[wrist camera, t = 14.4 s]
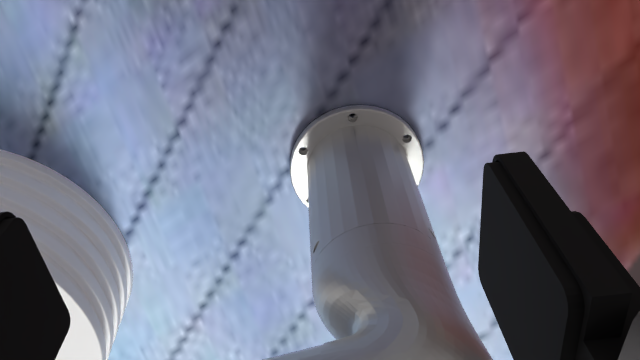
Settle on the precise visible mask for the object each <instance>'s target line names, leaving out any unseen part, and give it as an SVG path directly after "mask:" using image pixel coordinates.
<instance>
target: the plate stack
mask: <svg viewBox="0 0 640 360" xmlns="http://www.w3.org/2000/svg"><path fill="white" fill-rule="evenodd" d="M7 211H8V212H11V213H13V214H14V215H15V216H16V217H19V218H21V219H23V220H24V222H25V223H26V225H27V227H28V229H29V231H30V233H31V235H32V237H33V239H34V241H35V243H36V245H37V247H38V249H39V251H40V254H41V256H42V258H43V260H44V262H45V264H46V266H47V268H48V270H49V272H50V274H51V276H52V278H53V280H54V282H55V284H56V286H57V288H58V290H59V292H60V294H61V296H62V298H63V300H64V302H65V305H66V307H67V309H68V311H69V313H70V328H69V331H68V333H67V335H66V337H65V339H64V342H63V344H62V346H61V348H60V350H59V352H58V354H57V356H56V359H55V360H108V357H109V354H110V351H111V348H112V345H113V343H114V340H115V337H116V334H117V331H118V328H119V325H120V323H121V320H122V317H123V314H124V311H125V308H126V306H127V303H128V300H129V297H130V294H131V290H132V285H133V266H132V260H131V256H130V252H129V249H128V246H127V244H126V242H125V239H124V237H123V235H122V234H121V232H120V230H119V228H118V227H117V225H116V224H115V222H114V221H113V220H112V218H111V217H110V216H109V214H108V213H107V212H106V211H105V210H104V209H103V207H102V206H101V205H100V204H99V203H98V202H97V201H96V200H95V199H94V198H92V197H91V196H90V195H89V194H88V193H87V192H86V191H84V190H83V189H82V188H80V187H79V186H78V185H76V184H75V183H74V182H72V181H71V180H69V179H68V178H66V177H65V176H63V175H61V174H60V173H58V172H56V171H54V170H53V169H51V168H49V167H47V166H45V165H43V164H41V163H38V162H36V161H34V160H31V159H29V158H26V157H24V156H21V155H18V154H15V153H12V152H9V151H5V150H1V149H0V212H7Z"/></svg>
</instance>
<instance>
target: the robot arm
mask: <svg viewBox="0 0 640 360" xmlns="http://www.w3.org/2000/svg"><path fill="white" fill-rule="evenodd" d="M352 113H354V115H353V116H350V114H352ZM407 134H408V135H407ZM404 135H407V136H404ZM301 147H305V148H301ZM423 167H424V158H423V151H422V148H421V145H420V142H419V140H418V138H417V136H416V134H415V132H414V131H413V129H412V128H411V127H410V126H409V125H408V123H407V122H405V121H404V120H403V119H402V118H400V117H399V116H398V115H396V114H394V113H392V112H390V111H388V110H386V109H382V108H379V107H376V106H368V105H352V106H345V107H341V108H337V109H334V110H332V111H329V112H327V113H325V114H323V115H321V116H320V117H318V118H317V119H315V120H314V121H313V122H311V123H310V124H309V125H308V126H307V127H306V128H305V129H304V130H303V132H302V133H301V135H300V136H299V138H298V139H297V141H296V143H295V145H294V148H293V150H292V155H291V160H290V175H291V181H292V185H293V187H294V189H295V192H296V194H297V195H298V197H299V198H300V200H301V201H302V202H303V203H304V204H305V205H306V206H307V207H308V208H309V230H310V252H311V273H312V293H313V299H314V304H315V307H316V310H317V312H318V315H319V317H320V319H321V320H322V322H323V324H324V325H325V327H326V328H327V330H328V331H329V332H330V333H331V334H332V336H333V337H334V338H335V339H336V340H334V341H331V342H327V343H324V344H323V345H319V346H315V347H311V348H307V349H303V350H299V351H295V352H291V353H287V354H283V355H280V356H276V357H272V358H268V359H264V360H493V359H492V358H491V356H490V354H489V353H488V351H487V349H486V348H485V346H484V344H483V343H482V341H481V340H480V338H479V336H478V334H477V333H476V331H475V329H474V328H473V326H472V324H471V322H470V320H469V319H468V317H467V315H466V313H465V311H464V309H463V307H462V305H461V302H460V300H459V298H458V296H457V293H456V291H455V288H454V286H453V283H452V281H451V278H450V276H449V273H448V270H447V267H446V265H445V262H444V259H443V256H442V254H441V251H440V248H439V245H438V243H437V240H436V237H435V234H434V231H433V229H432V226H431V223H430V220H429V217H428V215H427V212H426V209H425V206H424V203H423V201H422V198H421V195H420V192H419V189H418V185H419V183H420V180H421V177H422V174H423ZM478 270H479V277H480V281H481V284H482V287H483V289H484V291H485V294H486V296H487V298H488V301H489V303H490V305H491V308H492V310H493V313H494V315H495V317H496V320H497V322H498V324H499V327H500V329H501V331H502V334H503V336H504V338H505V341H506V343H507V345H508V348H509V350H510V352H511V355H512V357H513V359H514V360H640V287H639V286H638V285H637V283H636V282H635V281H634V279H633V278H632V277H631V276H630V274H629V273H628V272H627V270H626V269H625V268H624V267H623V265H622V264H621V263H620V261H619V260H618V259H617V258H616V256H615V255H614V254H613V253H612V251H611V250H610V249H609V247H608V246H607V245H606V244H605V242H604V241H603V240H602V238H601V237H600V236H599V235H598V233H597V232H596V231H595V230H594V228H593V227H592V226H591V224H590V223H589V222H588V221H587V219H586V218H585V217H584V216H583V215H582V214H581V213H579V212H576V211H573V212H571V211H570V210H569V208H568V207H567V206H566V204H565V203H564V202H563V200H562V199H561V198H560V196H559V195H558V194H557V192H556V191H555V190H554V188H553V187H552V186H551V184H550V183H549V182H548V180H547V179H546V178H545V176H544V175H543V174H542V173H541V171H540V170H539V169H538V167H537V166H536V165H535V163H534V162H533V161H532V159H531V158H530V157H529V155H528V154H527V153H526V152H516V153H507V154H499V155H495V156H494V158H493V162H492V163H486V164H485V166H484V172H483V190H482V208H481V227H480V245H479V263H478ZM69 328H70V313H69V311H68V309H67V307H66V305H65V302H64V300H63V298H62V296H61V294H60V292H59V290H58V288H57V286H56V284H55V282H54V280H53V278H52V276H51V274H50V272H49V270H48V268H47V266H46V264H45V262H44V260H43V258H42V256H41V254H40V251H39V249H38V247H37V245H36V243H35V241H34V239H33V237H32V235H31V233H30V231H29V229H28V227H27V225H26V223H25V222H24V220H23V219H21V218H19V217H16V216H15V215H14V214H13V213H11V212H8V211H7V212H0V360H55V359H56V356H57V354H58V352H59V350H60V348H61V346H62V344H63V342H64V339H65V337H66V335H67V333H68V331H69Z"/></svg>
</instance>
